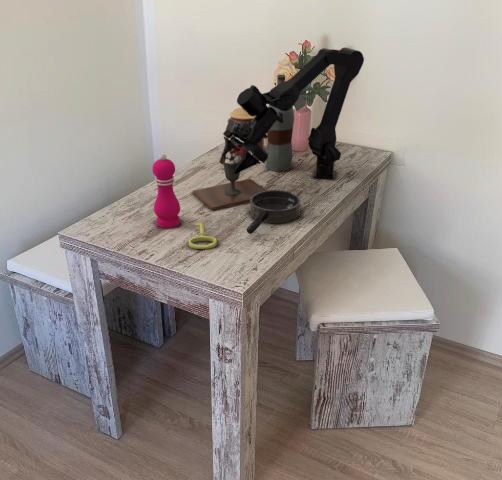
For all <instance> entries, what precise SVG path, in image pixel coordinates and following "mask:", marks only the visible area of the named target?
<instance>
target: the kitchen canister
mask: <svg viewBox="0 0 502 480" xmlns="http://www.w3.org/2000/svg"><path fill="white" fill-rule="evenodd" d="M229 116H230V117H229V118H228V119H227V123H228V122H229V119H232V120H235V121H238V122H240V123H241V122H242V121H243V122H245V123H246V121H250V122H251V121H252V120H253V118H254V117H255V116H250V115H249V114H248V113H247V112H246V111H245V110H244V109H243V108H242V107H241V106H240V107H237V108H234V109H233V110H232V111H230V113H229ZM264 144H265V138H263V139H262V140H261V141H260V143H259V144H258V145H259V146H260V147H261V148H262V149H263V150H264V151H265V145H264ZM238 148H239V147H238ZM239 149H240V151H238V152H239V155H240V156H241V158H242V157H243V150H244V149H245V150H247V149H246V148H244V147H241V148H239ZM247 151H249V150H247Z"/></svg>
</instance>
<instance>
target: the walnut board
mask: <svg viewBox="0 0 502 480" xmlns="http://www.w3.org/2000/svg"><path fill="white" fill-rule="evenodd" d="M230 186H231V182H228V183H223V184H219V185H214V186H213V185H212V186H209V187H208V186H207V187H203V188H198V189H193V190H192V194H193V195H194V197H196V198H197V199H198V200H200V202H202V203H203V204H204V205H206V207H207V208H209V209H210V210H211V211H217V210H221V209H225V208H231V207H235V206H238V205H239V206H240V205H243V204H248V203H250V199H251V197H252V196H253V195H255V194H256V193H259V192H262V191H268V189H266V188H264V187H262V186H261V185H260V184H258V183H257V182H255V181H254V180H252V179H251V178H247V179H243V180H236V181H235V189H238V190H240V191H241V193H240V194H238V195H227V194H225V190H227V189H230Z"/></svg>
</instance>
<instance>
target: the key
mask: <svg viewBox="0 0 502 480" xmlns="http://www.w3.org/2000/svg"><path fill="white" fill-rule="evenodd" d="M193 227H199V234H198V235H197V236H194V237H191V238H190V239H188V247H189V248H191V249H193V250H206V249H207V250H208V249H212V248H215V247H216V246H217V244H218V242H217V241H218V240H217V238H215V237H214V236H211V235H206V233H205V223H204V221H202V220H201V221H199V222H194V223H193ZM197 242H210V243H209V244H203V245H202V244H201V245H200V244H195V243H197Z"/></svg>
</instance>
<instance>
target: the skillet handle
mask: <svg viewBox="0 0 502 480" xmlns="http://www.w3.org/2000/svg"><path fill="white" fill-rule="evenodd" d="M267 217H268V212H267V211H263V212H262V213H261V214H260V215H259V216H258V217H257V218H256V219H255V218H254V219H253V221H252V222H251V223H250V224H249V225H248V226H247V228H246V233H247V234H249V235H252V234H253V233H255V232H256V230H257V229H258V228H259V227H260V226H261V225H262V224H263V223H264V222H263V221H264V220H265V219H266V218H267Z"/></svg>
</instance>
